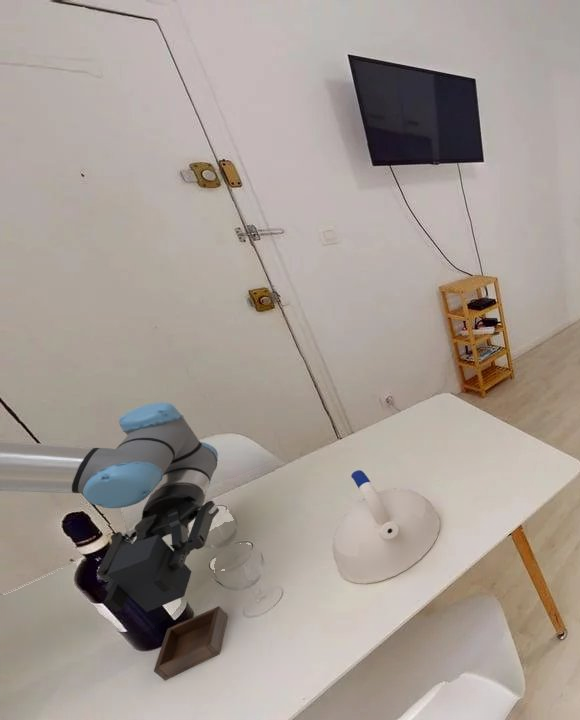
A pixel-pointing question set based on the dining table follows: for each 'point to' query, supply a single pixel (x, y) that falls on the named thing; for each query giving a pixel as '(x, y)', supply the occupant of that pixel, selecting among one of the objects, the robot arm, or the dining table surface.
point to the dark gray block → (146, 573)
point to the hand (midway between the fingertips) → (138, 595)
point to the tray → (191, 643)
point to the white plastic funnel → (383, 533)
